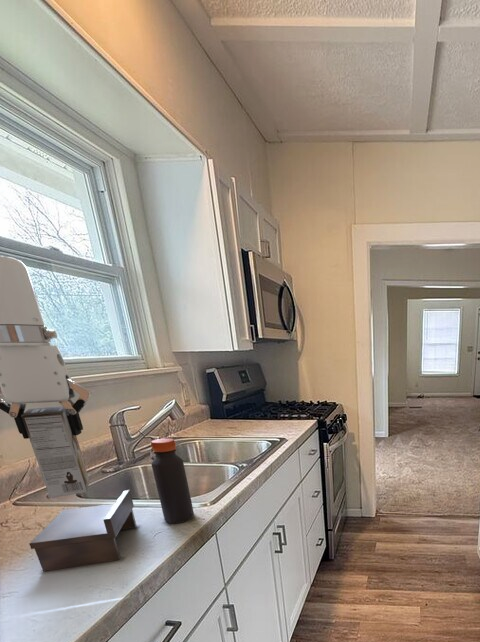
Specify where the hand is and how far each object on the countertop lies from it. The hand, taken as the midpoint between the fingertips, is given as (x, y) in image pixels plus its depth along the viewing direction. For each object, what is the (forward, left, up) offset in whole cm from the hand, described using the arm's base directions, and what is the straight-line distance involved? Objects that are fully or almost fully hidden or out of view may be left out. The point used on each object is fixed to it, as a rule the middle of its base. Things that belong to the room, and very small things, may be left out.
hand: (53, 435), depth 78 cm
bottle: (+17, +10, -25) cm, 32 cm away
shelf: (+1, 0, -24) cm, 25 cm away
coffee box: (0, 0, -11) cm, 11 cm away
